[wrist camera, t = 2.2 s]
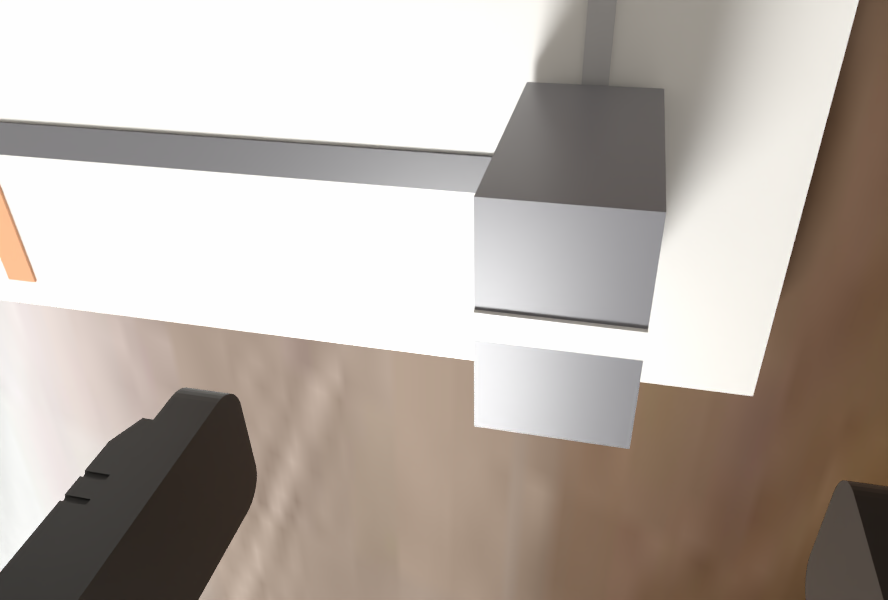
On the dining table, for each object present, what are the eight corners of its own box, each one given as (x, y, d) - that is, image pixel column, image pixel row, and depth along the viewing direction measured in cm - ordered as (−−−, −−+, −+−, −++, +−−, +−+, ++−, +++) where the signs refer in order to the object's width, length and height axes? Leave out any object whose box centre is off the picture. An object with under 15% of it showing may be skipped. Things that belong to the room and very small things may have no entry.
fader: (664, 88, 16) (666, 214, 11) (636, 283, 19) (629, 452, 14) (526, 81, 17) (472, 199, 12) (519, 271, 20) (473, 429, 15)
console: (850, -111, 16) (885, -94, 14) (743, 332, 23) (753, 398, 20) (-230, -107, 23) (-341, -94, 20) (-69, 242, 29) (-137, 284, 27)
